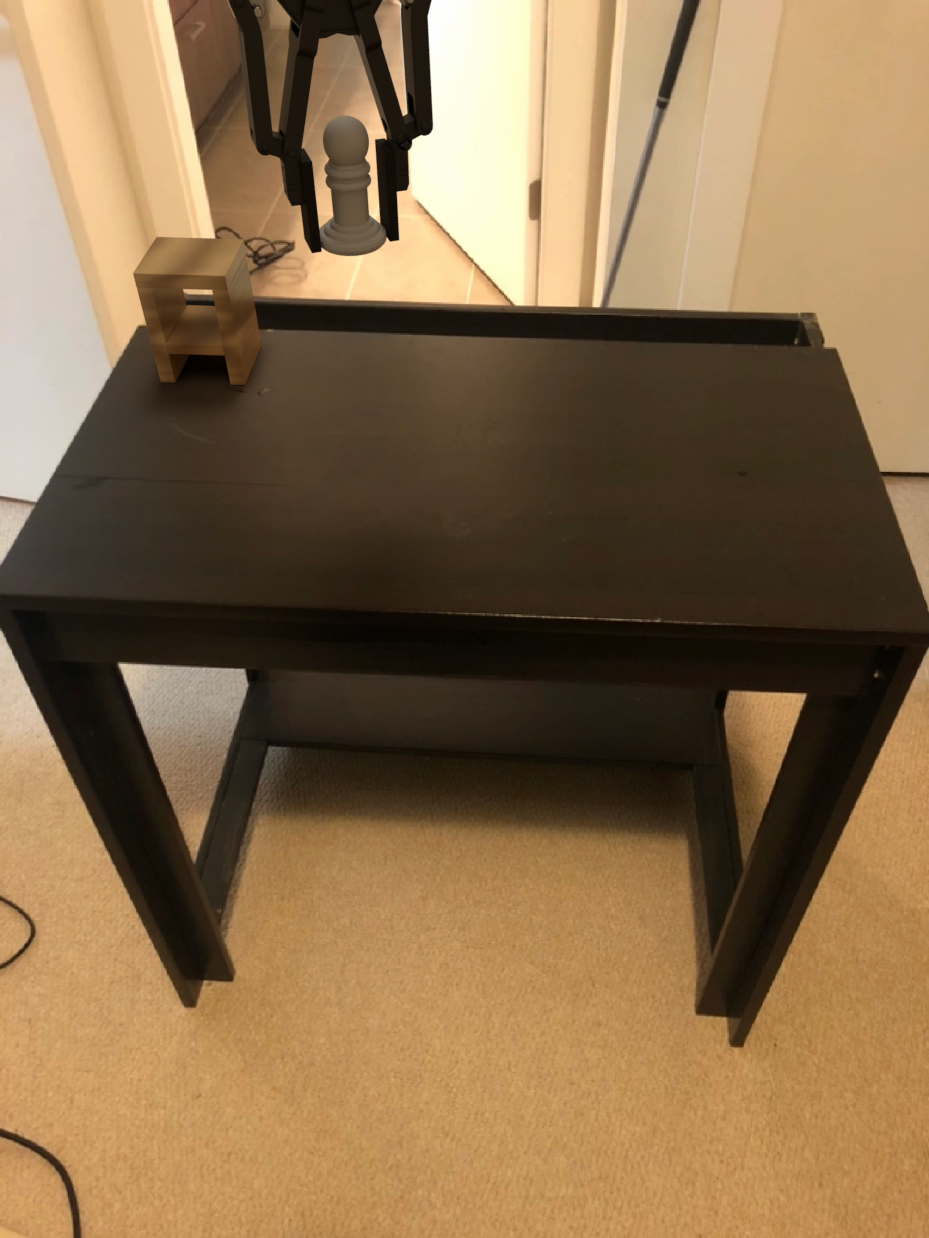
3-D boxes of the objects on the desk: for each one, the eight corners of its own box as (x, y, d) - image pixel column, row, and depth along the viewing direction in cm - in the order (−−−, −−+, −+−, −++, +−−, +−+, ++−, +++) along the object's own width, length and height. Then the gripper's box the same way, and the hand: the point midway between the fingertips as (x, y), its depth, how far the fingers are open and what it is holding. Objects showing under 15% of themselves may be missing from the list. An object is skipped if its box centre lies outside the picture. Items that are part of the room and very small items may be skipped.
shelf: (160, 382, 103) (132, 273, 94) (181, 343, 108) (156, 236, 100) (245, 385, 102) (225, 276, 94) (261, 346, 108) (243, 239, 99)
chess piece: (391, 228, 77) (384, 105, 70) (383, 259, 73) (375, 131, 67) (323, 227, 77) (310, 103, 71) (311, 257, 73) (297, 130, 67)
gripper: (446, -161, 63) (450, 204, 79) (155, -145, 59) (223, 236, 75) (485, -142, 58) (481, 242, 74) (170, -124, 54) (239, 279, 70)
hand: (351, 238), depth 75 cm, fingers closed on chess piece, 5 cm apart
